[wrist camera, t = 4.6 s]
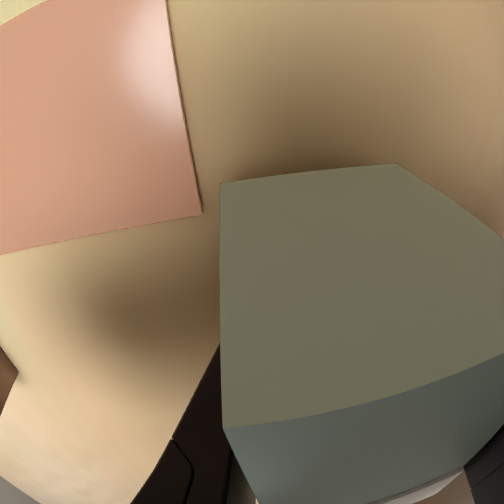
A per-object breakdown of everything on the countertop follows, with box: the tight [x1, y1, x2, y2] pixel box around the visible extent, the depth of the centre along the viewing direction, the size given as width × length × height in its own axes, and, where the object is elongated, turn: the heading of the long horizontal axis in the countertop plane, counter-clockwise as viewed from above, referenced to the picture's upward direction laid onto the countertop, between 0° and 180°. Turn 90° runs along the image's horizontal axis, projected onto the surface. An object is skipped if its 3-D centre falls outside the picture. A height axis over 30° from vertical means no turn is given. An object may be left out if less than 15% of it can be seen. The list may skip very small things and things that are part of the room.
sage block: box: [219, 163, 504, 504], centre depth 7 cm, size 4×7×6 cm, turn 7°
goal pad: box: [0, 0, 202, 255], centre depth 7 cm, size 10×8×1 cm
